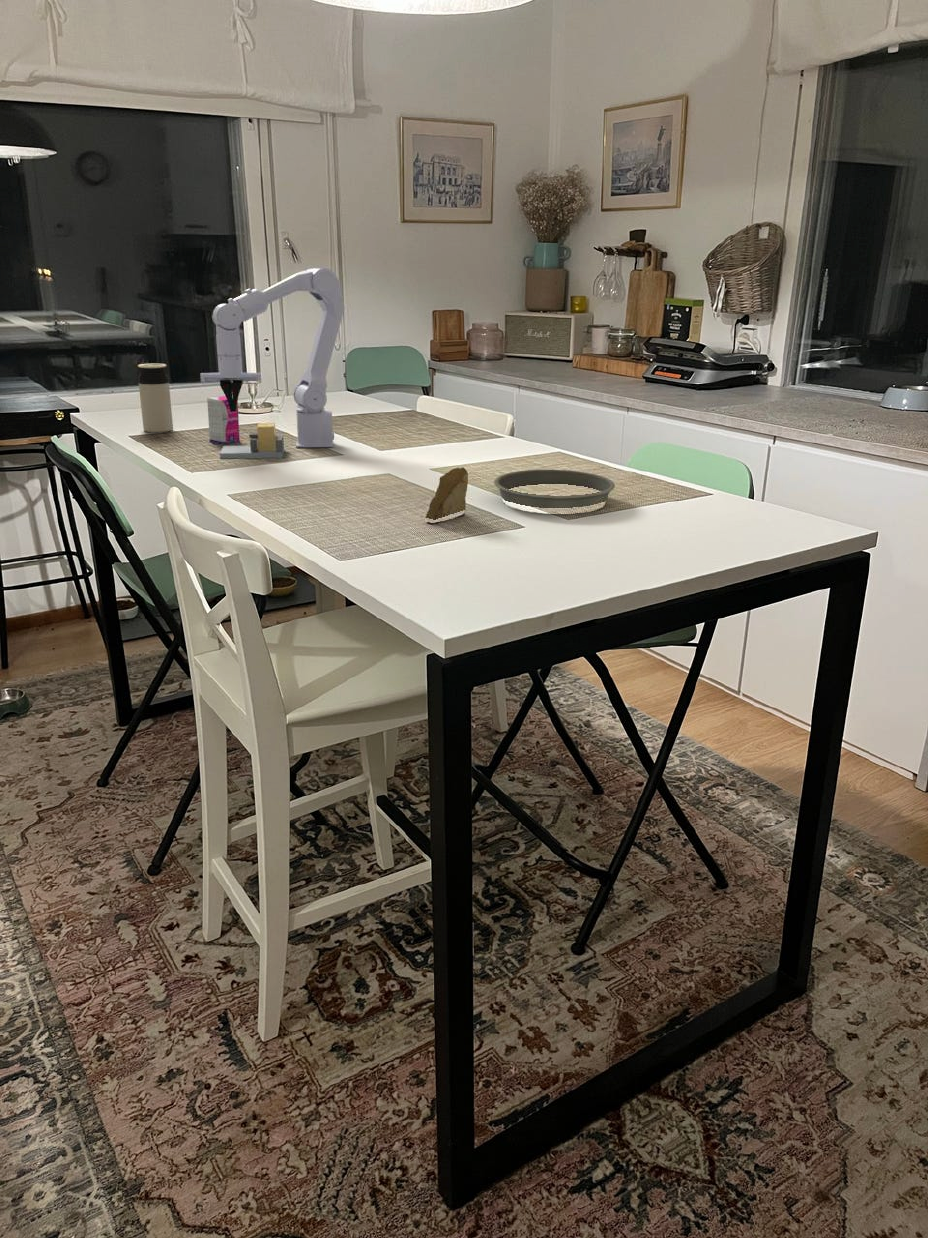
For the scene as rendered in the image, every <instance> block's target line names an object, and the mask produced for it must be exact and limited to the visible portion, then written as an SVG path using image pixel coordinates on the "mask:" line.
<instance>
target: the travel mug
mask: <svg viewBox="0 0 928 1238" xmlns="http://www.w3.org/2000/svg"><path fill="white" fill-rule="evenodd" d="M137 367H138V368H139V369H138V370H139V374H138V377H137V380H138V390H139V399H140V408H141V416H142V417H141V418H142V427H143V431H145V432H146V431H147V433H151V432H161V433H168V432H167V431H169V432H171V431H172V430H173V429H174V425H173V424H174V423H173V414H172V411H173V410H172V402H171V390H170V382H169V375H168V374H167V372H166V368H167V364H165V363H140V364H138V365H137Z"/></svg>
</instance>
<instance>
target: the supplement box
mask: <svg viewBox="0 0 928 1238" xmlns="http://www.w3.org/2000/svg"><path fill="white" fill-rule="evenodd" d="M206 401H207V415H208V432H209V433H208V435H209V442H210V443H217V444H221V445H224V444H228V443H229V444H231V443H236V442H240V439H241V438H240V422H239V418H240V417H239V401H237V411H236V412H230V407H229V404H228V401H227V398H226V396H225V395H224V396H222V395H221V396H215V397H214V396H212V397H207V400H206Z"/></svg>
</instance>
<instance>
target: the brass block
mask: <svg viewBox="0 0 928 1238" xmlns="http://www.w3.org/2000/svg"><path fill="white" fill-rule="evenodd" d="M257 432H258V447H259V451H275V443H274V441H275V437H276V435H277V432H276V423H275V422H258V424H257Z"/></svg>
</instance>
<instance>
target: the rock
mask: <svg viewBox="0 0 928 1238" xmlns="http://www.w3.org/2000/svg"><path fill="white" fill-rule="evenodd" d="M468 484H469V473H468V471H467V470H466V468H465V467H464V466H463V467H455V468H452V469H450V470H449V471H447V472H445V474H443V475H441V476H440V477H439V483H438V486H437V489H436V492H435V495H434V497H432V499H431V501H430V504H429V508H428V511H427V512H426V514H425V518H429V519H433V520H436V519H438V518H442V517H445V516H448V515H450V514H454V513H457V512H460V511H463V510H465V511H466V508H467V507H466V506H467V505H466V496H467V491H468Z"/></svg>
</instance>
